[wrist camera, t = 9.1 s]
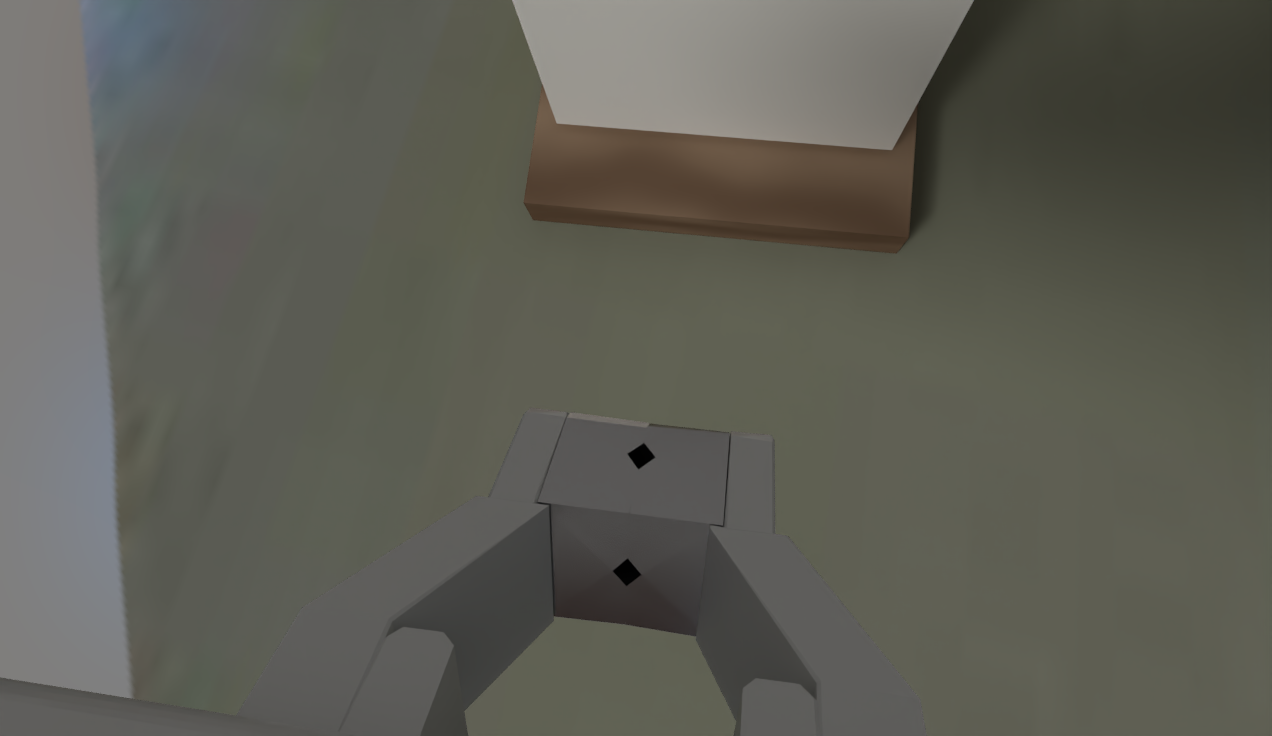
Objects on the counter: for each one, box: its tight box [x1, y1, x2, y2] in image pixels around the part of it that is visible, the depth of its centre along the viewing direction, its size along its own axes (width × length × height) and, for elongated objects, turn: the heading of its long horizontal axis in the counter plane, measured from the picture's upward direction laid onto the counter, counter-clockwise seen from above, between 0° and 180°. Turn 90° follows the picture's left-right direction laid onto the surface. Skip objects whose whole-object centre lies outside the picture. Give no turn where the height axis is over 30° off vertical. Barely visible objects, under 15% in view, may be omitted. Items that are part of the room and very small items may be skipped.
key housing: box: [524, 84, 918, 253], centre depth 33 cm, size 14×16×6 cm
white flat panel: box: [512, 0, 974, 150], centre depth 27 cm, size 2×14×12 cm, turn 83°
